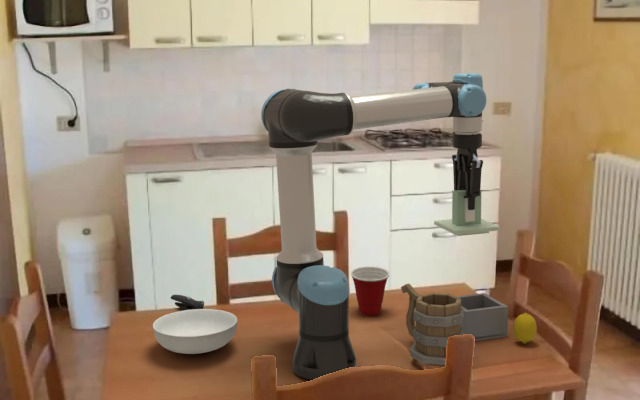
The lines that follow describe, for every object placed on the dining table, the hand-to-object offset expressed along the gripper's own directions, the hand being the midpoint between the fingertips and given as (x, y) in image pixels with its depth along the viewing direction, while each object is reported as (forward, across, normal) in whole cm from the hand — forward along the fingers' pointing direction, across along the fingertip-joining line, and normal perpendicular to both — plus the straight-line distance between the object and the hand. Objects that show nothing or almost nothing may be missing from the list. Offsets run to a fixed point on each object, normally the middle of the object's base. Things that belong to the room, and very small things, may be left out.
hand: (466, 219), depth 209 cm
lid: (+3, 0, 0) cm, 3 cm away
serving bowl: (+27, 0, +74) cm, 78 cm away
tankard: (+27, -20, +20) cm, 39 cm away
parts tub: (+27, -12, +3) cm, 30 cm away
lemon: (+27, -23, -4) cm, 36 cm away
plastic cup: (+27, +10, +24) cm, 38 cm away
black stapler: (+27, +27, +73) cm, 82 cm away
